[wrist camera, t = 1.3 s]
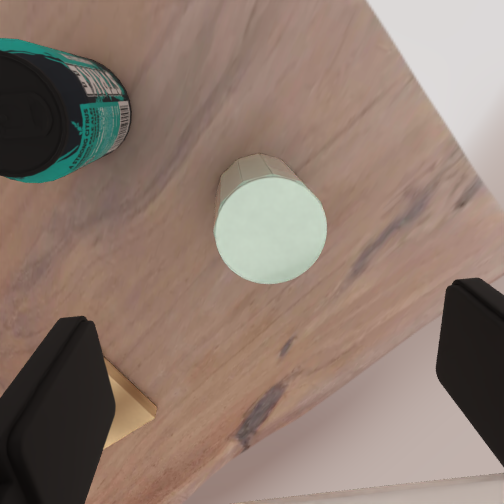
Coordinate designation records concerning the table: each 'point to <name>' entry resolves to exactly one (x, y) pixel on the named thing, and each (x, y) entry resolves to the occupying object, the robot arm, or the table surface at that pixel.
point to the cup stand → (127, 406)
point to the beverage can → (56, 112)
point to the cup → (267, 221)
